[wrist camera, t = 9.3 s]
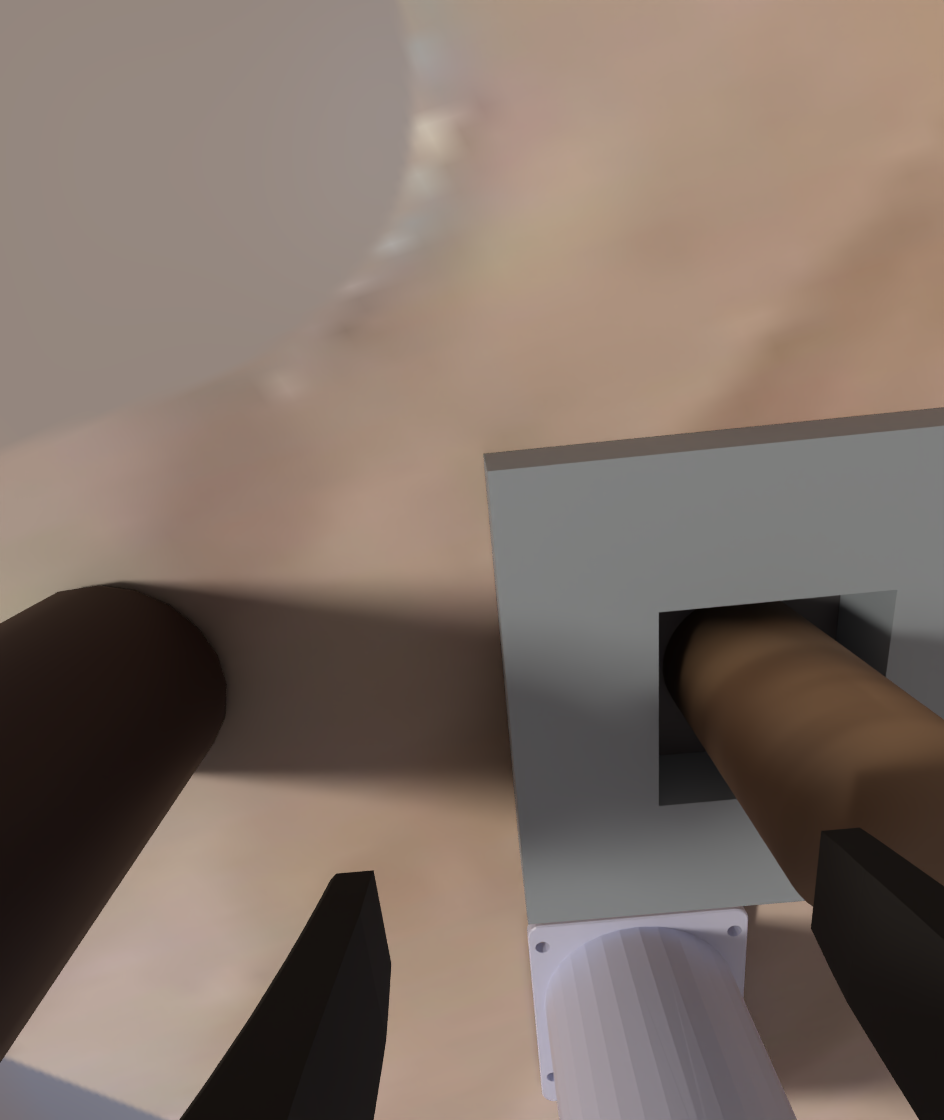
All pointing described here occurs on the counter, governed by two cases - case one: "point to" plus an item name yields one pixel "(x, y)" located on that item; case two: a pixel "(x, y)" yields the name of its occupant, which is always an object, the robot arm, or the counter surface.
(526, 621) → the socket block
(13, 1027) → the bottle
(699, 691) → the peg
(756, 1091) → the robot arm
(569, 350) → the counter surface
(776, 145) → the counter surface
